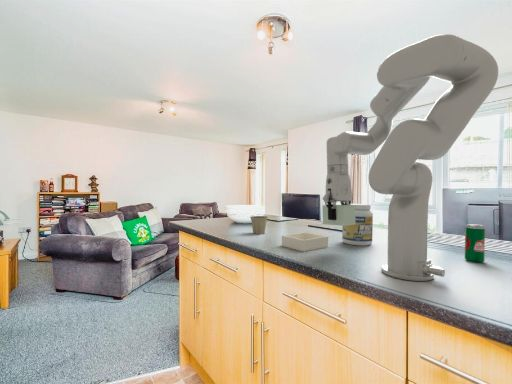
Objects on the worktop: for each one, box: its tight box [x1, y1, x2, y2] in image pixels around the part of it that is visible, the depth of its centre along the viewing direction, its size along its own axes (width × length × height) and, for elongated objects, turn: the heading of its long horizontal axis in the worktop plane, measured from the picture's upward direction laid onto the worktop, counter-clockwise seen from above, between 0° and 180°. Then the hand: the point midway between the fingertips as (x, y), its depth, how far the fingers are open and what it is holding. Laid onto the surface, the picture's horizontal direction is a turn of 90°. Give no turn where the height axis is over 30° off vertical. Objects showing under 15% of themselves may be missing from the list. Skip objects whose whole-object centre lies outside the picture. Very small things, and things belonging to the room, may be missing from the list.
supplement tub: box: [342, 203, 374, 247], centre depth 115 cm, size 12×12×17 cm
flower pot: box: [249, 215, 269, 235], centre depth 139 cm, size 9×9×9 cm
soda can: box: [464, 223, 486, 264], centre depth 87 cm, size 5×5×12 cm
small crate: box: [322, 204, 355, 227], centre depth 98 cm, size 9×7×7 cm
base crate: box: [281, 231, 329, 252], centre depth 109 cm, size 12×14×4 cm
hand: (338, 218), depth 98 cm, fingers closed on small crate, 7 cm apart
